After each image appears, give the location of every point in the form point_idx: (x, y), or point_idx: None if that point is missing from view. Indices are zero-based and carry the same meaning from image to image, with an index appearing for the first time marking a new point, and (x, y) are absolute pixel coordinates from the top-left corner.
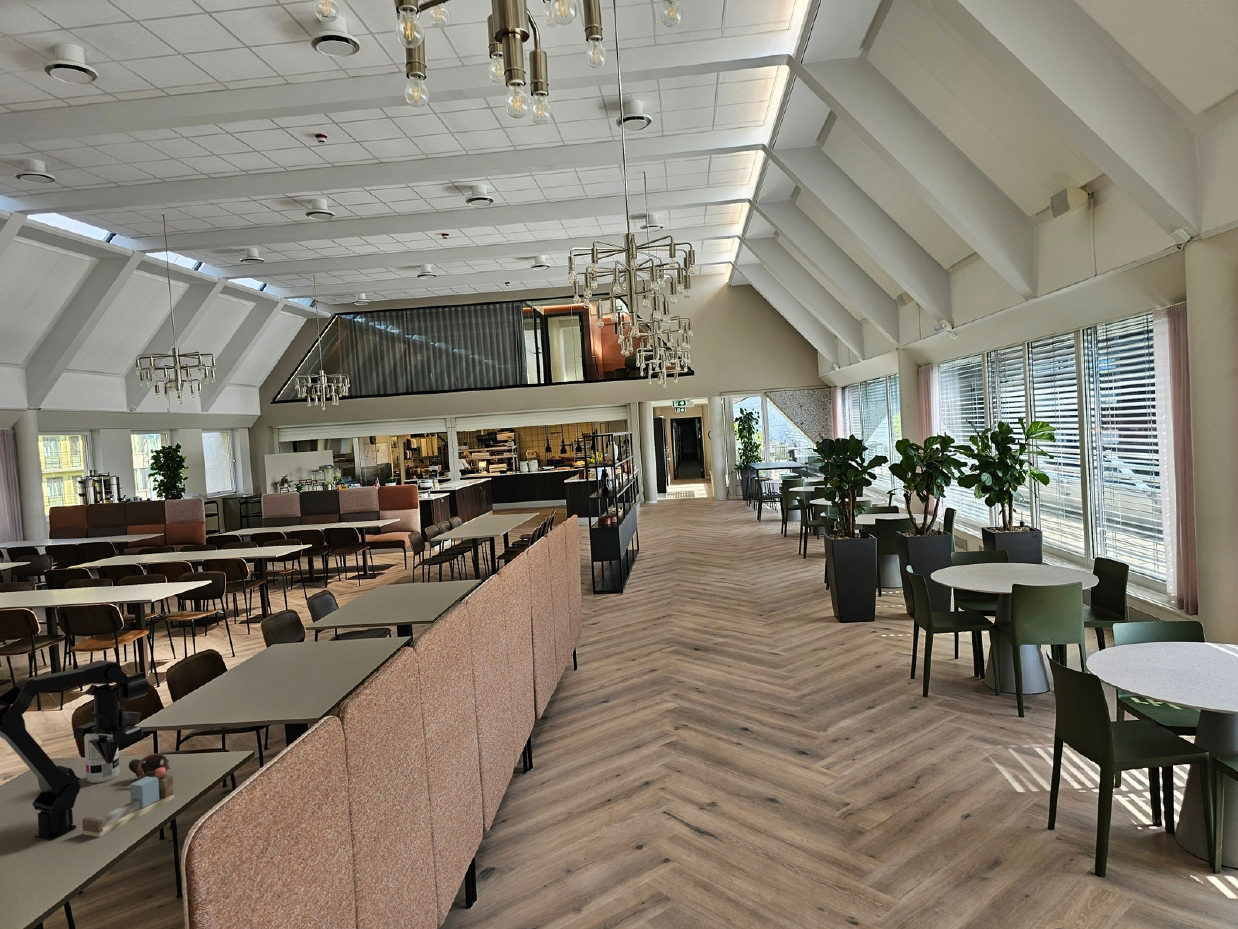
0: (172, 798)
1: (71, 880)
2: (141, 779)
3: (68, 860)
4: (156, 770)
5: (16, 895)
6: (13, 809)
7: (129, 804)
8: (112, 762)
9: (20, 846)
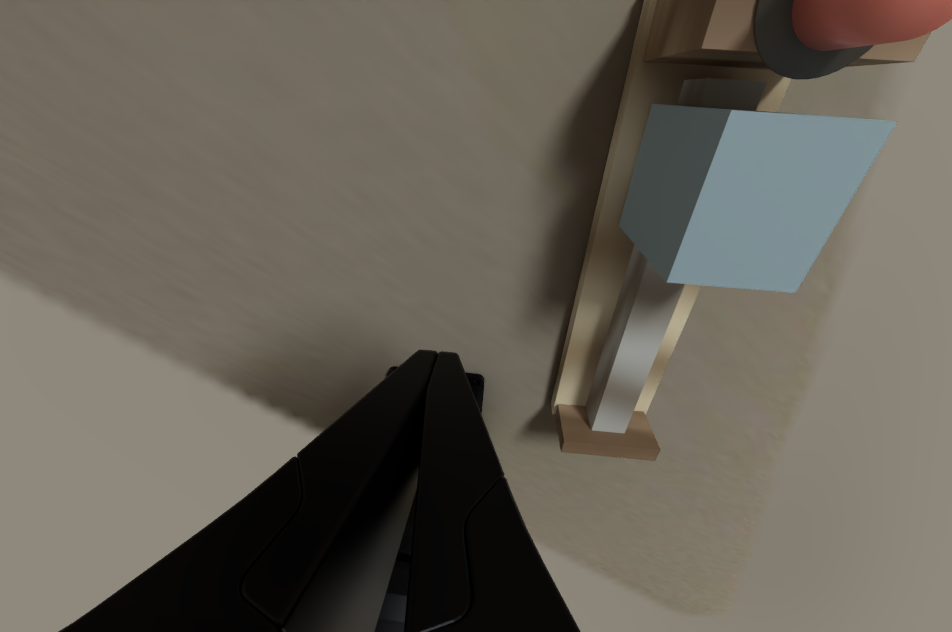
0: None
1: (719, 550)
2: (716, 186)
3: (637, 501)
4: (884, 27)
5: (627, 580)
6: (31, 283)
7: (660, 287)
8: (456, 355)
9: None
